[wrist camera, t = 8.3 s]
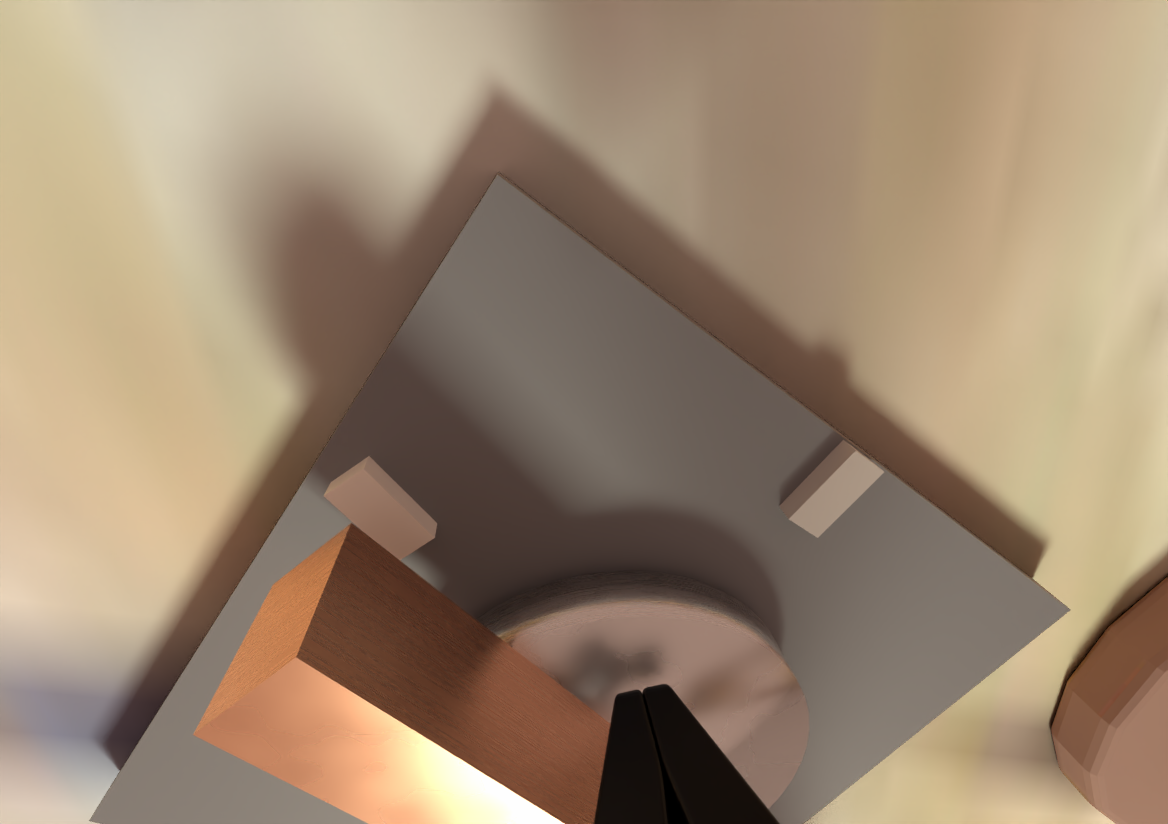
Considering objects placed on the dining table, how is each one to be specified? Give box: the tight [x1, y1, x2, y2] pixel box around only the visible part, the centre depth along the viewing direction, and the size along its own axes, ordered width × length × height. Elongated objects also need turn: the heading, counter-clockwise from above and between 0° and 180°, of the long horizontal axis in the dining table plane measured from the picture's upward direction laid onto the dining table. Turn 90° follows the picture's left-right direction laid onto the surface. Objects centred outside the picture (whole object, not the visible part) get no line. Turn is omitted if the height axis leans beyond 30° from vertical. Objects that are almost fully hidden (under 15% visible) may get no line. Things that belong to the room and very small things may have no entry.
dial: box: [193, 523, 809, 824], centre depth 15 cm, size 17×12×5 cm
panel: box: [89, 172, 1070, 824], centre depth 19 cm, size 23×23×2 cm
